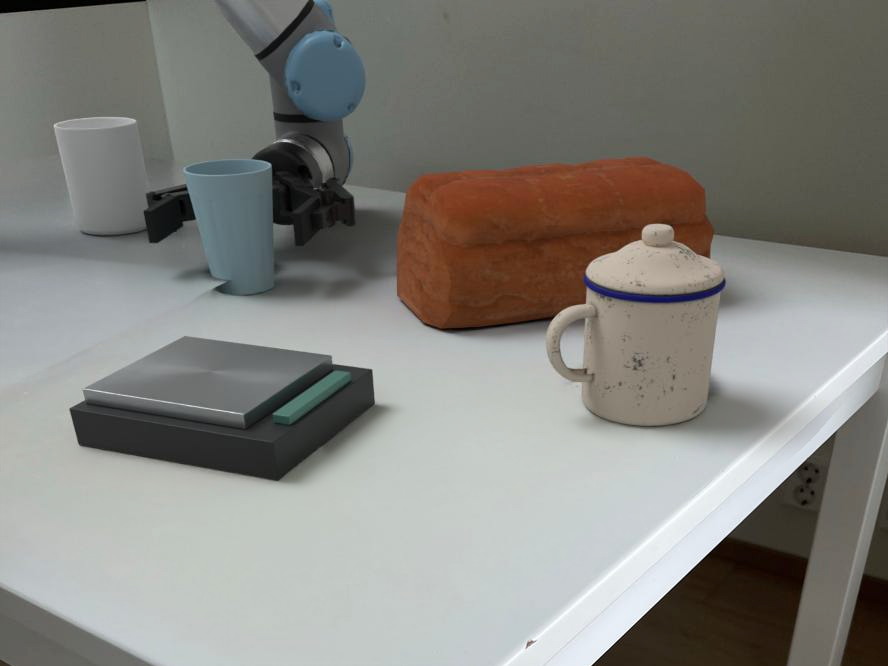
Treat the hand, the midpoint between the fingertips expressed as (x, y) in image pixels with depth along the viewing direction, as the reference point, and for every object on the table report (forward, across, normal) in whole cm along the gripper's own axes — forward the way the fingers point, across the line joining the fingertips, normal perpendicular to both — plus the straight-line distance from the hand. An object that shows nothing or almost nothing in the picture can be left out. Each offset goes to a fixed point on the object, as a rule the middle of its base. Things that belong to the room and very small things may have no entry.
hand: (223, 228), depth 88 cm
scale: (+28, -9, -6) cm, 30 cm away
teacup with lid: (+23, -35, -6) cm, 43 cm away
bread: (-3, -29, -6) cm, 30 cm away
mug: (-27, +23, -6) cm, 36 cm away
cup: (-3, 0, -6) cm, 7 cm away
